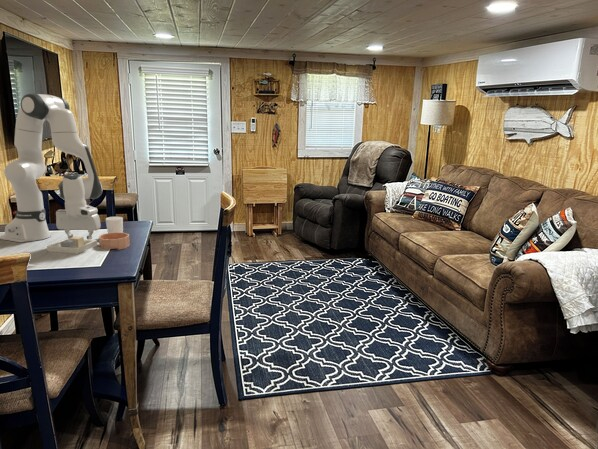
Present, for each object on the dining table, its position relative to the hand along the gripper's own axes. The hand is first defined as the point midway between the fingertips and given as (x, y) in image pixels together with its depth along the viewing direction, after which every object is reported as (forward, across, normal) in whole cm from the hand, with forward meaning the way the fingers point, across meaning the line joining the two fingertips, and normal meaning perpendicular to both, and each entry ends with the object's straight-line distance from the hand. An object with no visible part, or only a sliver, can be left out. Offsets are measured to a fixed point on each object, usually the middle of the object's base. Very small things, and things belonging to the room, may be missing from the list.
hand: (80, 238), depth 208 cm
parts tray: (+4, -1, -4) cm, 6 cm away
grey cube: (+3, -1, -7) cm, 8 cm away
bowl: (+4, +14, +5) cm, 15 cm away
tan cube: (+3, -1, -1) cm, 4 cm away
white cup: (+4, +7, +19) cm, 20 cm away
